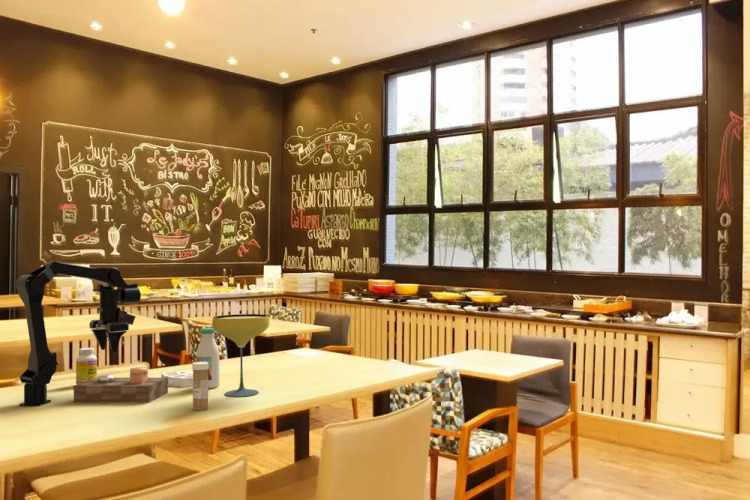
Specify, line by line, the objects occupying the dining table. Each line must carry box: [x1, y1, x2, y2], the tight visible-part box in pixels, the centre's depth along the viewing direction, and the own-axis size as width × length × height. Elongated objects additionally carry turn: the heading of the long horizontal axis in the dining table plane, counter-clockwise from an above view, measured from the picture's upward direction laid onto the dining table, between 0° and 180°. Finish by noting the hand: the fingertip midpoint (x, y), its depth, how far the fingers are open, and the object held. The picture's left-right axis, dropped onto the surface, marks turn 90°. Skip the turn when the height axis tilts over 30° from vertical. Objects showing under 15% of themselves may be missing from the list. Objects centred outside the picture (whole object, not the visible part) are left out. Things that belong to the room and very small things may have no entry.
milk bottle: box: [195, 327, 221, 389], centre depth 211 cm, size 8×8×20 cm
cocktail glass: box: [211, 313, 270, 398], centre depth 199 cm, size 18×18×25 cm
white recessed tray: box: [160, 370, 193, 388], centre depth 220 cm, size 3×18×15 cm
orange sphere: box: [129, 366, 149, 383], centre depth 195 cm, size 5×5×5 cm
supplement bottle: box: [75, 347, 98, 385], centre depth 217 cm, size 7×7×13 cm
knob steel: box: [96, 374, 115, 383], centre depth 196 cm, size 5×5×5 cm
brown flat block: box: [73, 377, 169, 403], centre depth 195 cm, size 14×24×5 cm, turn 86°
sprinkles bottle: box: [191, 361, 209, 411], centre depth 178 cm, size 5×5×13 cm
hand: (108, 350), depth 207 cm, fingers open, 9 cm apart
